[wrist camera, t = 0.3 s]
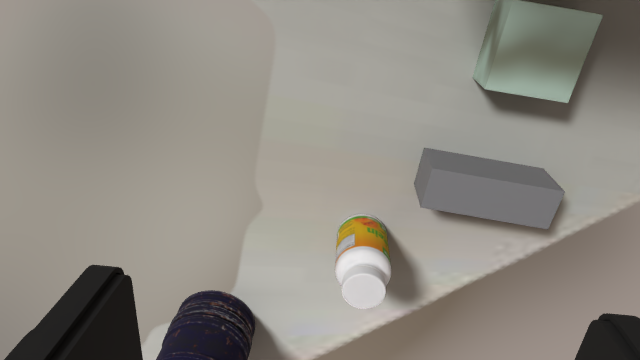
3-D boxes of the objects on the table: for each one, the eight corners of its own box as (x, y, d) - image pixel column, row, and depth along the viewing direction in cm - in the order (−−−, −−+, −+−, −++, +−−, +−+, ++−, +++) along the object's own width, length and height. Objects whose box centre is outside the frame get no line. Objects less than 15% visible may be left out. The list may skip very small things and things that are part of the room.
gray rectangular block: (424, 147, 45) (432, 168, 40) (543, 168, 45) (565, 191, 40) (414, 183, 46) (420, 207, 42) (528, 203, 47) (548, 229, 42)
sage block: (496, -5, 39) (513, -1, 35) (577, 9, 39) (603, 14, 35) (471, 77, 42) (484, 89, 38) (546, 89, 42) (567, 103, 38)
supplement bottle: (397, 234, 49) (406, 293, 40) (360, 263, 51) (362, 324, 42) (362, 203, 48) (365, 256, 39) (326, 233, 50) (321, 290, 41)
